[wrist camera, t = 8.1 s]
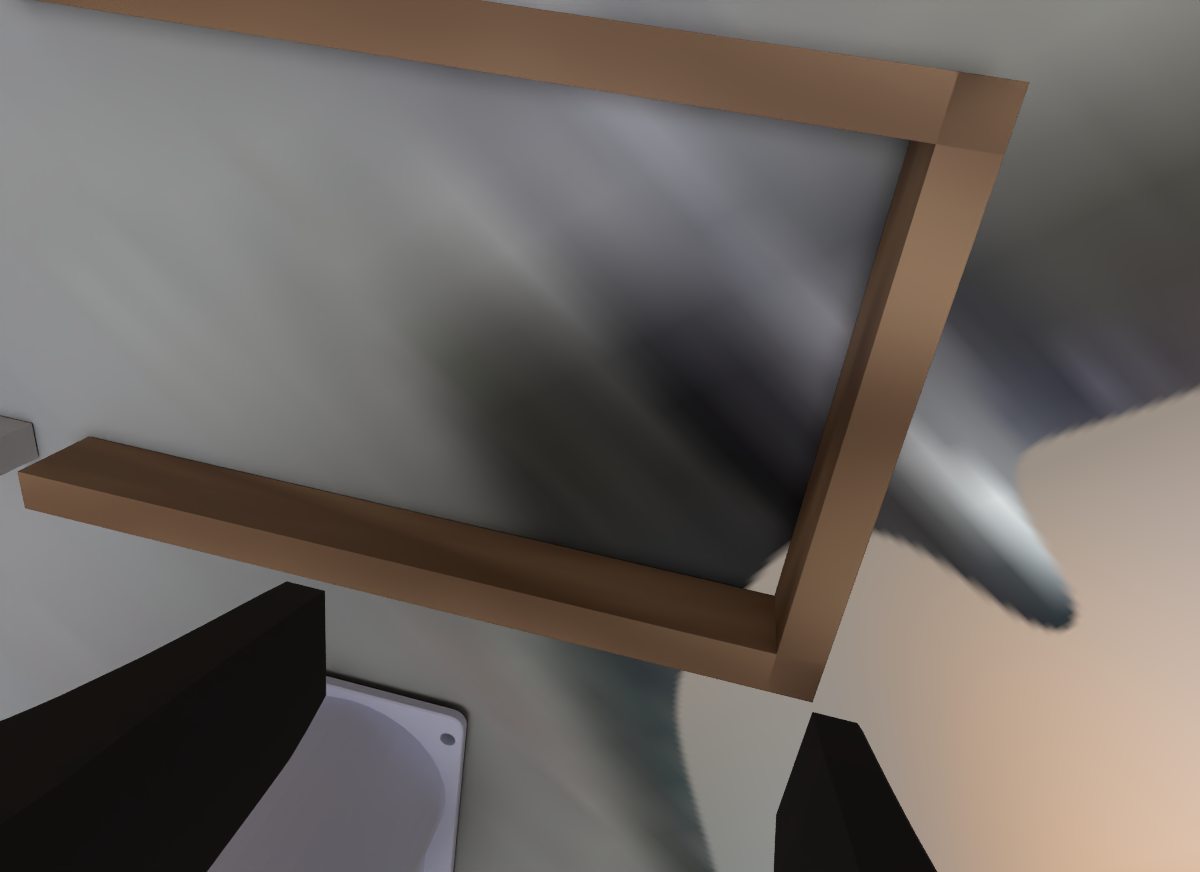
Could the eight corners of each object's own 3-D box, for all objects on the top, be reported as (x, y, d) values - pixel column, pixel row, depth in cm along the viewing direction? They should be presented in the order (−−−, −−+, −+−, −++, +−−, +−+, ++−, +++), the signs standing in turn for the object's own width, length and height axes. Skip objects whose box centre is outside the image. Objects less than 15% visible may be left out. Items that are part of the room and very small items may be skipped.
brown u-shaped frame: (806, 639, 21) (812, 702, 19) (94, 470, 24) (25, 508, 22) (989, 86, 15) (1029, 82, 13) (9, -61, 18) (-99, -86, 16)
